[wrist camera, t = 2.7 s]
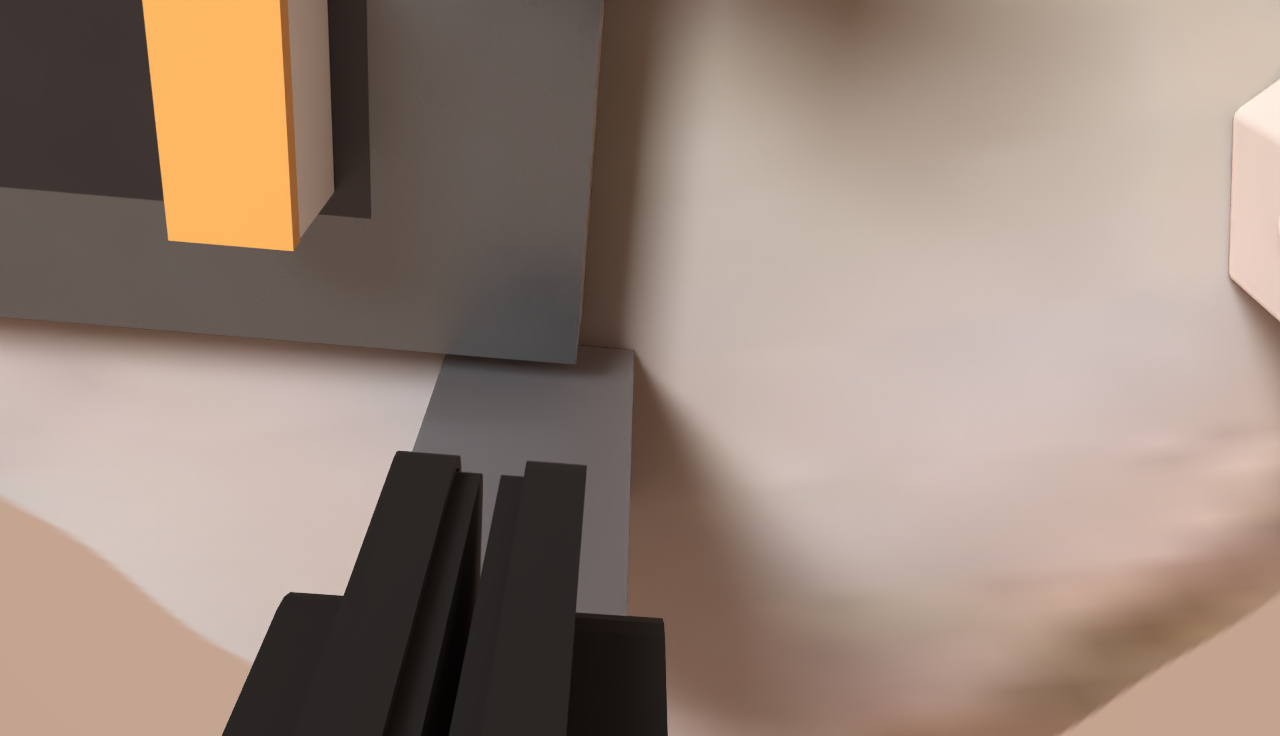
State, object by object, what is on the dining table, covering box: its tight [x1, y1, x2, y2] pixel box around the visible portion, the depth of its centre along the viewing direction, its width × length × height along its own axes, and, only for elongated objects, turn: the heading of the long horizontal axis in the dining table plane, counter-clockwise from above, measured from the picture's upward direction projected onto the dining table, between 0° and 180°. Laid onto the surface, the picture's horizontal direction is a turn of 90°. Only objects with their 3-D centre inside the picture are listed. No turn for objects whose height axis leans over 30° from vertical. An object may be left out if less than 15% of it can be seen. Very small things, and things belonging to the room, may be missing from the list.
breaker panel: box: [0, 0, 605, 365], centre depth 26 cm, size 14×18×3 cm
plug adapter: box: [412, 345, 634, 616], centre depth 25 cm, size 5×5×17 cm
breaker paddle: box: [142, 0, 334, 251], centre depth 23 cm, size 6×2×4 cm, turn 175°
